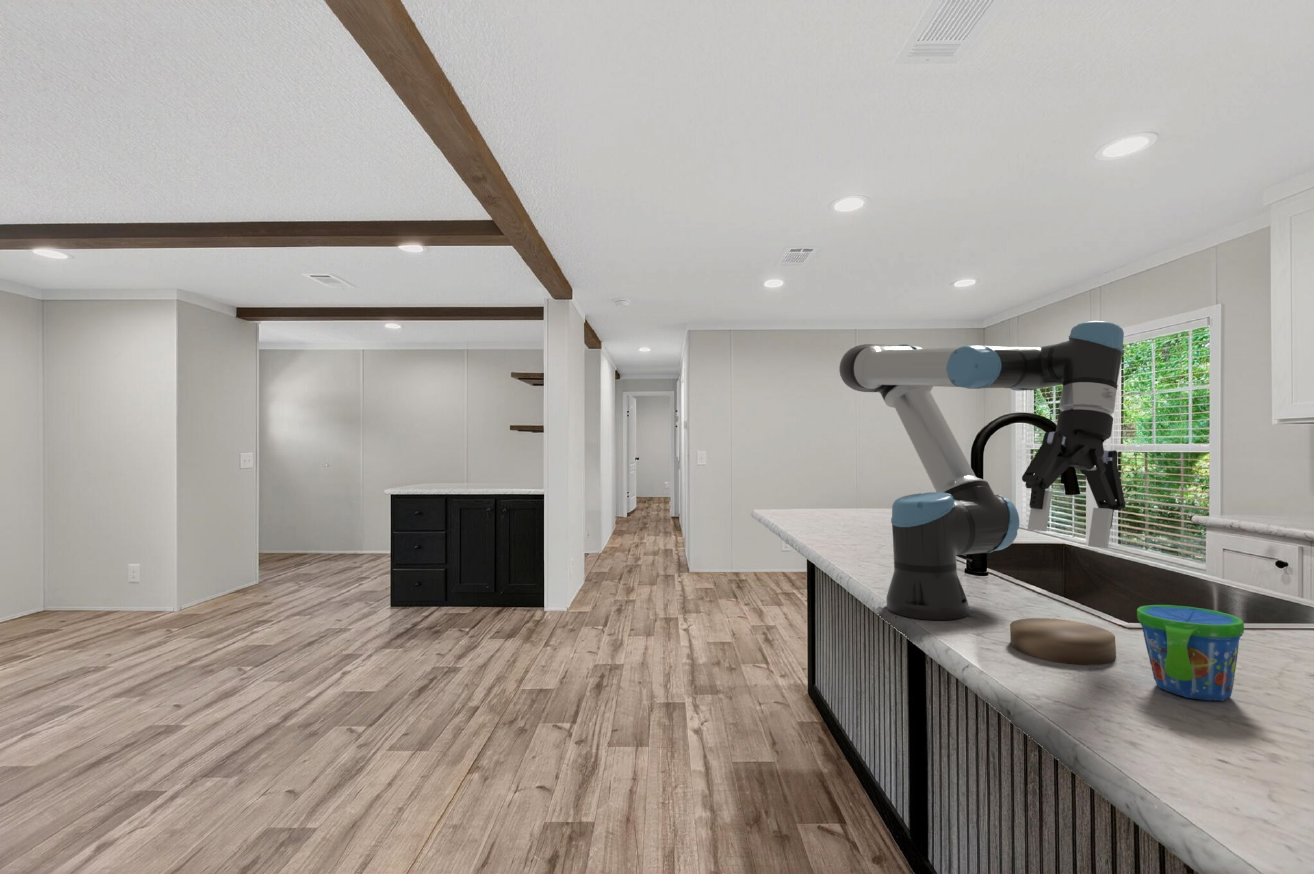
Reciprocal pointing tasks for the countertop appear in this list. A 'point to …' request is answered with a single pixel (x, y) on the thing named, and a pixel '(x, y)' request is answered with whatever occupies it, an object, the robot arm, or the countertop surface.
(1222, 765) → the countertop surface
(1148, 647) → the snack cup
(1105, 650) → the walnut pedestal
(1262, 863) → the countertop surface
